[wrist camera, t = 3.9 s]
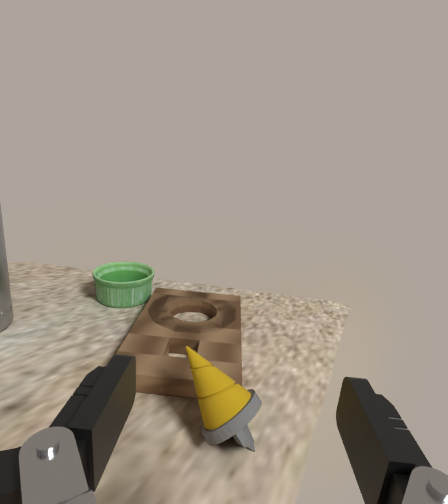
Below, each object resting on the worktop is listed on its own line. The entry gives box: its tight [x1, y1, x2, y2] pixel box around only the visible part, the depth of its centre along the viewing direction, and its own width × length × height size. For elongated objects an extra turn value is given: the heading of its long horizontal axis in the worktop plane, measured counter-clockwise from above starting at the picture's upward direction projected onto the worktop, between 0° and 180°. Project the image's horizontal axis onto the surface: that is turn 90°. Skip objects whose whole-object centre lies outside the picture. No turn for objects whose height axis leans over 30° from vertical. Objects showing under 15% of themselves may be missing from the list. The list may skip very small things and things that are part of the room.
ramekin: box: [93, 262, 154, 308], centre depth 49 cm, size 9×9×4 cm
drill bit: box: [186, 346, 261, 452], centre depth 26 cm, size 5×5×10 cm
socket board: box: [116, 288, 242, 398], centre depth 40 cm, size 13×20×2 cm, turn 178°
